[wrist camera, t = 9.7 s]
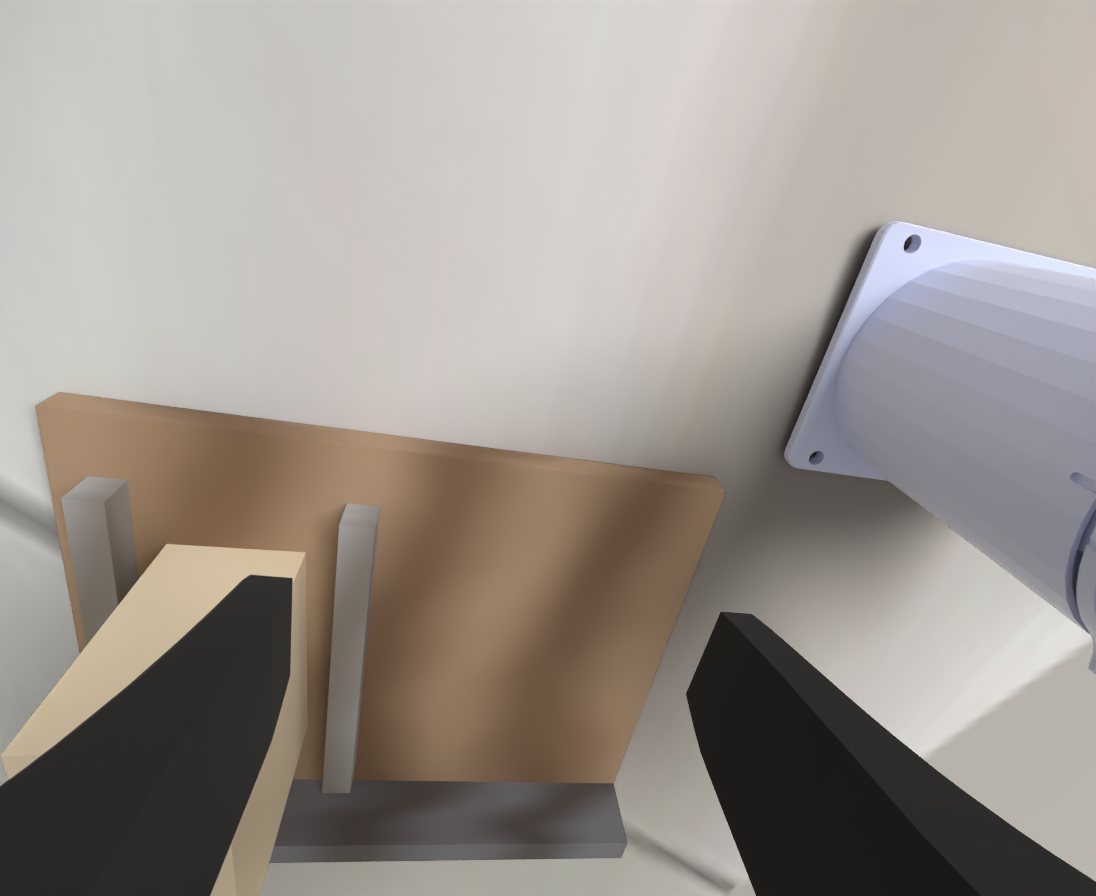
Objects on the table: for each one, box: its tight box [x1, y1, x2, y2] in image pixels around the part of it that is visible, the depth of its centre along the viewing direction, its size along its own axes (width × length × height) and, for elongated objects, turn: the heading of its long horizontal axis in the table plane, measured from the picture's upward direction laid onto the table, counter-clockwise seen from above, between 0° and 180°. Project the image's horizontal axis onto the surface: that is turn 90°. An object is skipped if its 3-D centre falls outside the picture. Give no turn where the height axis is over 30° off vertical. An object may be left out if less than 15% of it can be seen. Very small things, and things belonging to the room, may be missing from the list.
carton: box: [0, 544, 308, 896], centre depth 16 cm, size 8×4×7 cm, turn 170°
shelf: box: [35, 392, 726, 863], centre depth 20 cm, size 20×16×4 cm
